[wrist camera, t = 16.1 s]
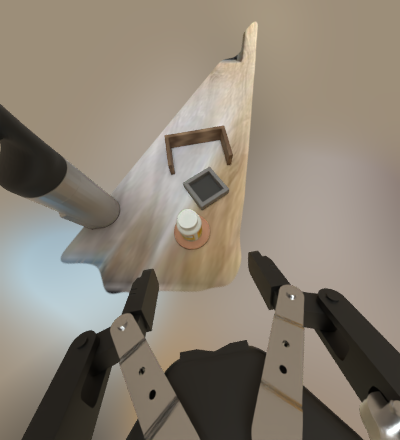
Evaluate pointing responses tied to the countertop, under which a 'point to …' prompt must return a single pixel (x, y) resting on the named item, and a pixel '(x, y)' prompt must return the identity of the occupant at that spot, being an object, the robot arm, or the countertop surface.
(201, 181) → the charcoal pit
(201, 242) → the tan round disc
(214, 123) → the countertop surface
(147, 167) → the countertop surface
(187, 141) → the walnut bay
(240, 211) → the countertop surface
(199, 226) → the supplement bottle
